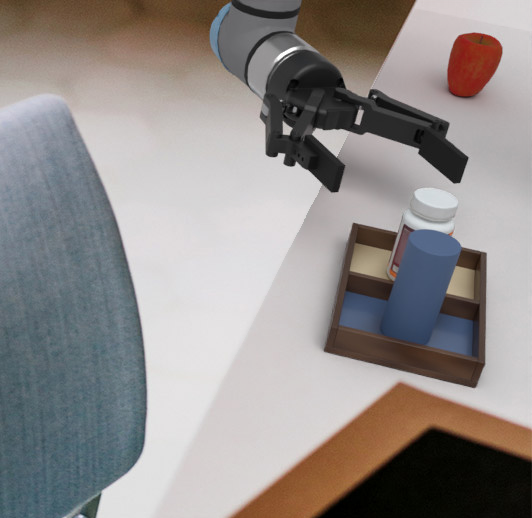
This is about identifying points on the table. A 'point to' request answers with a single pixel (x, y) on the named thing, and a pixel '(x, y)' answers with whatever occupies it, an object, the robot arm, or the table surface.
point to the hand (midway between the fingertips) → (401, 175)
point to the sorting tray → (375, 302)
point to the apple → (472, 63)
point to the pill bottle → (423, 220)
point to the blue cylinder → (420, 285)
